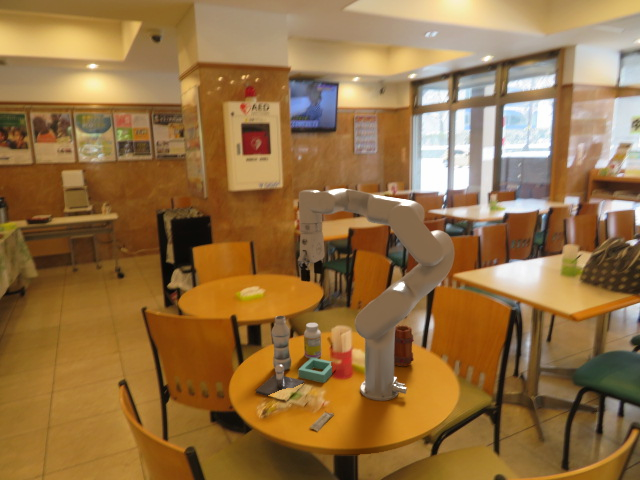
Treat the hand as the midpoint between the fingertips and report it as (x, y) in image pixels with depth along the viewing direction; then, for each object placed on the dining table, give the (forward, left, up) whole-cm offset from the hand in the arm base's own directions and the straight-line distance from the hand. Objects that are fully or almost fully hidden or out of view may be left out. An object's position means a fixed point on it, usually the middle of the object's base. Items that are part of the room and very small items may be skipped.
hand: (312, 277), depth 148 cm
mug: (-23, -22, -37) cm, 49 cm away
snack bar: (-14, +23, -37) cm, 46 cm away
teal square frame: (0, -2, -37) cm, 37 cm away
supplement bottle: (+8, -14, -37) cm, 40 cm away
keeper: (+7, +12, -37) cm, 39 cm away
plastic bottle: (+14, 0, -37) cm, 39 cm away
